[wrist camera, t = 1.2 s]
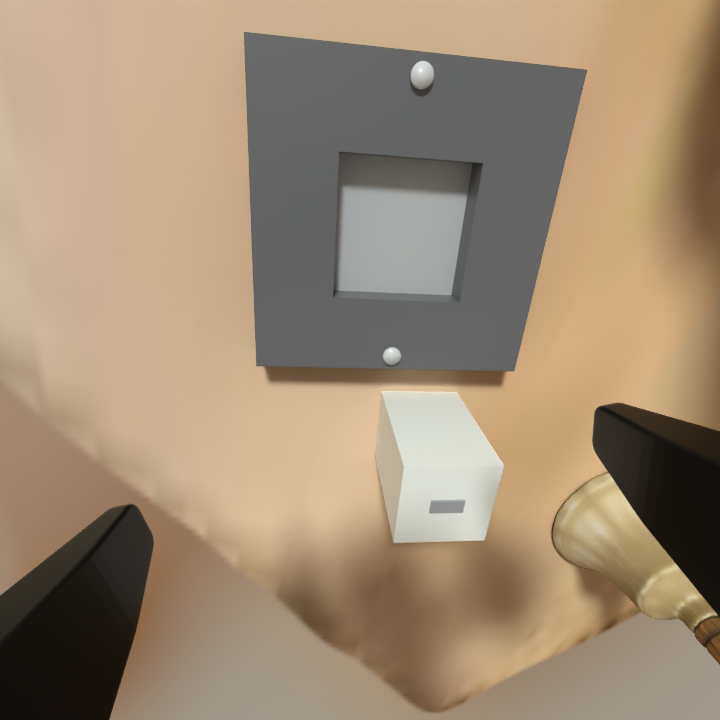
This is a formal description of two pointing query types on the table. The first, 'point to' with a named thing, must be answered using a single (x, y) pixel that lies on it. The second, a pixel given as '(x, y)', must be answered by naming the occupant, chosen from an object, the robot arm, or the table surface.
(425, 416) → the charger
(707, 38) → the table surface
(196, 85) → the table surface
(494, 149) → the outlet plate
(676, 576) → the hand bell
